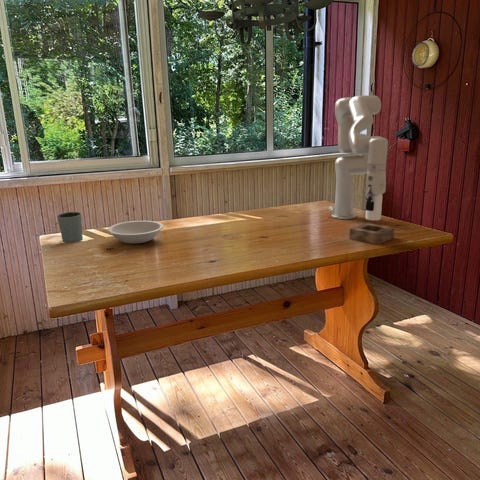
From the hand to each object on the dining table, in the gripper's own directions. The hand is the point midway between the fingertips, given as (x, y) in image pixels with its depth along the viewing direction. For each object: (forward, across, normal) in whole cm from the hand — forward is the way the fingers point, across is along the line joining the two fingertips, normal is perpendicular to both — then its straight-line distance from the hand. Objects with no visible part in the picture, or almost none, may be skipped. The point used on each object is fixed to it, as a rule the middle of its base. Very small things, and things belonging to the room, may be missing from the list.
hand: (373, 208), depth 195 cm
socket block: (+13, 0, 0) cm, 13 cm away
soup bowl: (+14, -71, +76) cm, 105 cm away
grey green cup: (+13, -89, +100) cm, 135 cm away
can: (+5, 0, 0) cm, 5 cm away
